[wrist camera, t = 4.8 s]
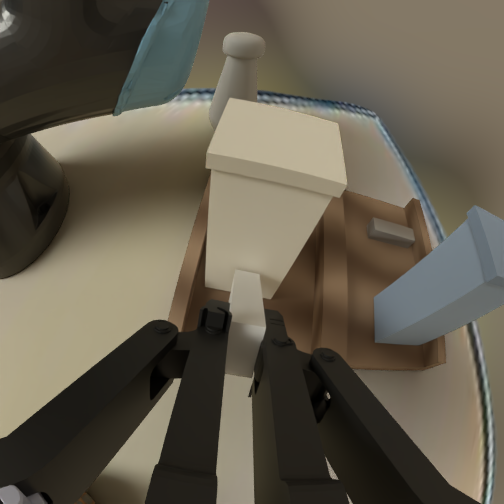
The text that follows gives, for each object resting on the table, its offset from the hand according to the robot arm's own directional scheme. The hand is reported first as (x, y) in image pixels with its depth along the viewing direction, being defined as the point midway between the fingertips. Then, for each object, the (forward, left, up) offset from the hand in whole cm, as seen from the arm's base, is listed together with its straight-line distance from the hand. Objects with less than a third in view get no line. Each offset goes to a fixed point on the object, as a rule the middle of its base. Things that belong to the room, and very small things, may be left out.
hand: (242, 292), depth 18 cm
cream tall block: (-2, +2, -3) cm, 5 cm away
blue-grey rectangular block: (+9, +10, -3) cm, 14 cm away
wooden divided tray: (+1, +9, -5) cm, 10 cm away
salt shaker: (-19, +13, -5) cm, 24 cm away
